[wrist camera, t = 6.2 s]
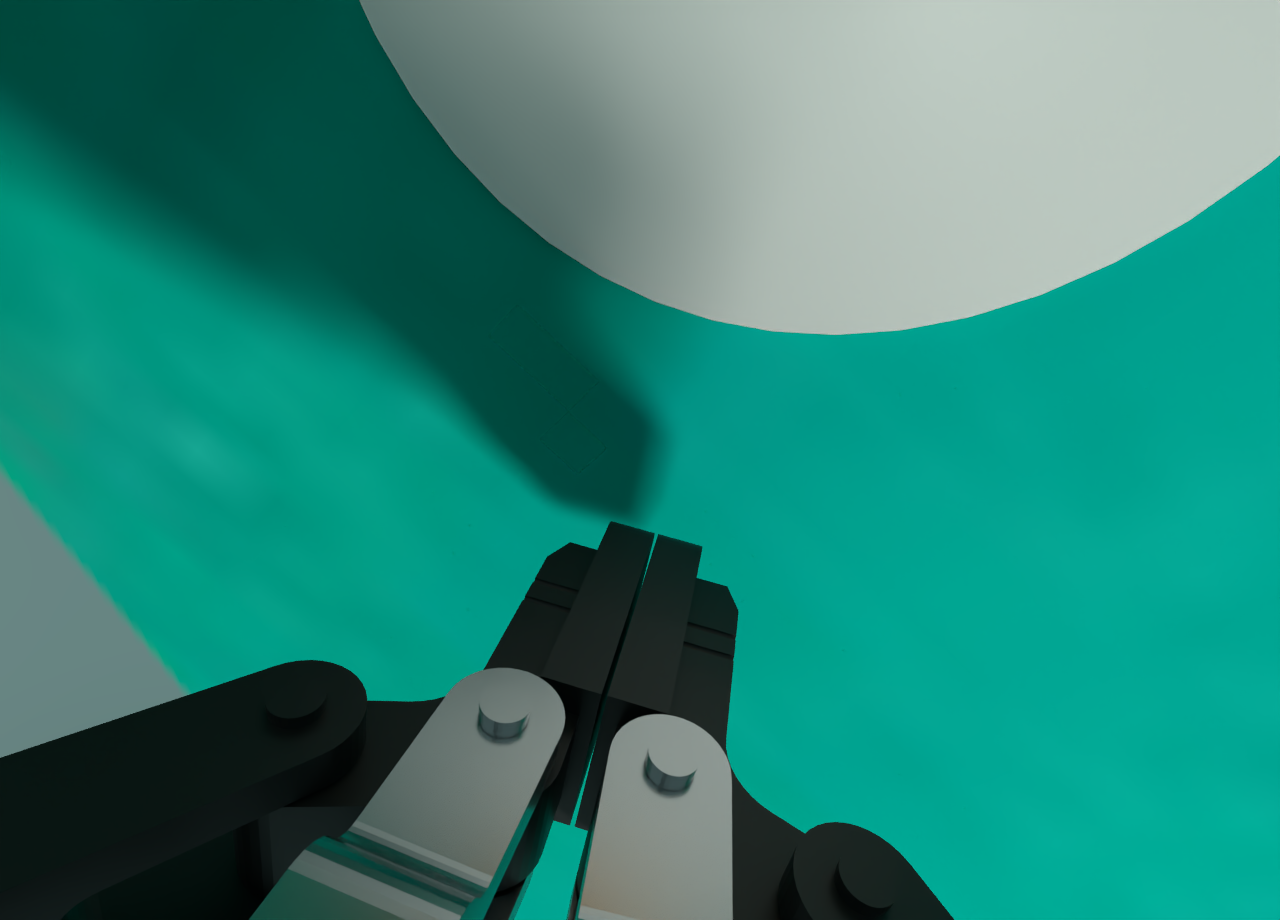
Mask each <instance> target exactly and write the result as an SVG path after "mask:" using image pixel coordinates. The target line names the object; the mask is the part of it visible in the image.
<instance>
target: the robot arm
mask: <svg viewBox="0 0 1280 920" xmlns="http://www.w3.org/2000/svg"><path fill="white" fill-rule="evenodd" d="M654 534H655V533H652V532H648V531H644V530H641V529H637V528H634V527H630V526H627V525H623V524H619V523H616V522H612V521H611V522H610V523H609V525H608V528H607V530H606V532H605V534H604V537H603V539H602V541H601V543H600V545H599V548H598V550H595V549H592V548H588V547H585V546H581V545H578V544H574V543H571V542H570V543H568V544H567V545H565V546H563V547H562V548H560V549H559V550H557V551H556V552H554V553H552V554H551V555H549V556H548V557H547V558H546V560H545V562H544V563H543V565H542V567H541V569H540V570H539V572H538V574H537V576H536V578H535V581H534V582H533V583H532V585H531V586H530V588H529V590H528V592H527V594H526V595H525V599H524V600H523V601H522V602H521V604H520V606H519V608H518V610H517V611H516V613H515V615H514V617H513V618H512V620H511V622H510V624H509V626H508V627H507V629H506V631H505V633H504V635H503V636H502V638H501V640H500V642H499V643H498V645H497V647H496V649H495V651H494V652H493V654H492V656H491V658H490V659H489V661H488V663H487V665H486V667H485V668H484V670H482V671H479V672H476V673H474V674H471V675H469V676H467V677H466V678H464V679H462V680H461V681H460V682H458V683H457V684H456V685H455V686H454V687H453V688H452V689H451V690H450V691H449V692H448V694H447V695H446V696H445V697H442V698H438V699H434V700H427V701H415V702H402V701H367V696H366V690H365V688H364V686H363V684H362V682H361V681H360V680H359V678H358V677H357V676H356V675H355V674H353V673H352V672H351V671H349V670H348V669H346V668H344V667H342V666H340V665H337V664H334V663H330V662H325V661H316V660H304V661H294V662H288V663H284V664H281V665H277V666H274V667H271V668H268V669H265V670H262V671H259V672H256V673H253V674H250V675H247V676H244V677H241V678H238V679H235V680H232V681H229V682H226V683H223V684H220V685H217V686H214V687H211V688H208V689H205V690H202V691H199V692H196V693H193V694H190V695H187V696H184V697H181V698H178V699H175V700H172V701H169V702H166V703H163V704H160V705H157V706H154V707H151V708H148V709H145V710H142V711H139V712H136V713H133V714H130V715H127V716H124V717H122V718H119V719H115V720H112V721H110V722H106V723H103V724H100V725H98V726H94V727H92V728H88V729H85V730H83V731H79V732H77V733H74V734H70V735H67V736H64V737H61V738H59V739H56V740H52V741H49V742H46V743H44V744H40V745H38V746H34V747H31V748H29V749H26V750H23V751H20V752H17V753H14V754H11V755H8V756H5V757H2V758H0V920H514V918H515V916H516V914H517V911H518V909H519V907H520V904H521V902H522V900H523V897H524V895H525V892H526V890H527V888H528V885H529V883H530V880H531V877H532V874H533V869H534V868H535V867H536V865H537V864H538V862H539V859H540V857H541V855H542V852H543V849H544V846H545V843H546V840H547V837H548V834H549V831H550V829H551V826H552V823H553V820H554V821H557V822H561V823H564V824H567V825H570V823H571V820H572V816H573V813H574V810H575V807H576V804H577V800H578V797H579V794H580V791H581V787H582V784H583V781H584V778H585V775H586V771H587V768H588V765H589V762H590V759H591V755H592V752H593V755H592V759H591V763H590V768H589V772H588V776H587V780H586V784H585V788H584V792H583V796H582V800H581V804H580V808H579V812H578V816H577V820H576V824H575V827H578V828H581V829H584V830H587V831H588V833H587V837H586V841H585V845H584V849H583V852H582V856H581V860H580V864H579V868H578V872H577V876H576V879H575V883H574V887H573V891H572V895H571V899H570V904H569V909H568V914H567V919H566V920H954V919H953V917H952V916H951V915H950V914H949V912H948V911H947V910H946V909H945V907H944V906H943V905H942V904H941V902H940V901H939V900H938V899H937V897H936V896H935V895H934V894H933V892H932V891H931V890H930V889H929V887H928V886H927V885H926V884H925V882H924V881H923V880H922V879H921V877H920V876H919V875H918V874H917V872H916V871H915V870H914V869H913V867H912V866H911V865H910V864H909V862H908V861H907V860H906V859H905V858H904V857H903V856H902V855H901V854H900V853H899V852H898V851H897V850H896V849H895V848H894V847H893V846H892V845H890V844H889V843H888V842H886V841H885V840H884V839H882V838H881V837H879V836H877V835H876V834H874V833H872V832H870V831H868V830H866V829H864V828H861V827H859V826H855V825H851V824H848V823H839V822H832V823H824V824H821V825H817V826H815V827H814V828H812V829H810V830H809V831H808V832H807V833H803V832H801V831H800V830H798V829H797V828H795V827H793V826H792V825H790V824H789V823H787V822H786V821H784V820H782V819H781V818H779V817H778V816H776V815H775V814H773V813H771V812H770V811H769V810H767V809H766V808H764V807H763V806H762V805H760V804H759V803H758V802H757V801H756V800H755V799H754V798H753V797H751V796H750V794H749V793H748V792H747V791H746V790H745V789H744V788H743V786H742V785H741V783H740V782H739V781H738V779H737V778H736V776H735V774H734V772H733V770H732V768H731V766H730V763H729V760H728V757H727V751H726V734H727V724H728V713H729V703H730V693H731V682H732V672H733V662H734V661H733V658H734V652H735V641H736V640H735V637H736V631H737V621H738V609H737V607H736V605H735V603H734V600H733V598H732V596H731V594H730V592H729V589H728V587H727V586H723V585H720V584H716V583H713V582H709V581H706V580H702V579H699V578H696V577H697V572H698V567H699V562H700V557H701V552H702V546H699V545H695V544H692V543H688V542H685V541H681V540H677V539H674V538H670V537H667V536H663V535H659V534H658V537H657V540H656V543H655V546H654V550H653V553H652V556H651V559H650V562H649V565H648V569H647V572H646V575H645V571H646V567H647V563H648V559H649V555H650V551H651V547H652V543H653V539H654ZM644 575H645V578H644ZM643 579H644V581H643ZM642 583H643V584H642ZM641 587H642V588H641ZM595 742H596V743H595ZM594 746H595V747H594ZM593 749H594V751H593Z"/></svg>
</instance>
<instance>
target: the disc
mask: <svg viewBox="0 0 1280 920" xmlns="http://www.w3.org/2000/svg"><path fill="white" fill-rule="evenodd" d="M359 1H360V3H361V5H362V8H363V10H364V12H365V14H366V16H367V18H368V20H369V23H370V25H371V27H372V29H373V31H374V33H375V35H376V37H377V39H378V40H379V42H380V44H381V45H382V47H383V49H384V51H385V52H386V54H387V56H388V57H389V59H390V61H391V62H392V64H393V66H394V67H395V69H396V71H397V72H398V74H399V76H400V78H401V79H402V81H403V83H404V84H405V86H406V88H407V89H408V91H409V93H410V94H411V96H412V98H413V99H414V101H415V102H416V103H417V105H418V106H419V107H420V109H421V110H422V111H423V113H424V114H425V115H426V117H427V118H428V119H429V121H430V122H431V123H432V125H433V126H434V127H435V129H436V130H437V131H438V133H439V134H440V135H441V137H442V138H443V139H444V141H445V142H446V143H447V145H448V146H449V147H450V149H451V150H452V151H453V153H454V154H455V155H456V156H457V157H458V158H459V159H460V160H461V161H462V162H463V163H464V165H465V166H466V167H467V168H468V169H469V170H470V171H471V172H472V173H473V174H474V175H475V176H476V177H477V178H478V179H479V180H480V181H481V183H482V184H483V185H484V186H485V187H486V188H487V189H488V190H489V191H490V192H491V193H492V194H493V195H494V196H495V197H496V198H497V199H498V201H499V202H500V203H502V204H503V205H504V206H505V207H506V208H508V209H509V210H510V211H511V212H512V213H514V214H515V215H516V216H517V217H518V218H520V219H521V220H522V221H523V222H524V223H526V224H527V225H528V226H529V227H530V228H532V229H533V230H534V231H535V232H536V233H538V234H539V235H540V236H541V237H542V238H544V239H545V240H546V241H547V242H548V243H550V244H552V245H553V246H555V247H556V248H558V249H559V250H561V251H562V252H564V253H566V254H567V255H569V256H570V257H572V258H573V259H575V260H576V261H578V262H580V263H581V264H583V265H584V266H586V267H587V268H589V269H591V270H592V271H594V272H595V273H597V274H598V275H600V276H602V277H604V278H606V279H608V280H610V281H612V282H615V283H617V284H619V285H621V286H623V287H625V288H627V289H629V290H631V291H634V292H636V293H638V294H640V295H642V296H644V297H646V298H648V299H650V300H653V301H655V302H658V303H661V304H664V305H667V306H670V307H673V308H676V309H679V310H682V311H685V312H689V313H692V314H695V315H698V316H701V317H704V318H707V319H710V320H714V321H719V322H725V323H730V324H736V325H741V326H746V327H752V328H757V329H763V330H768V331H776V332H794V333H812V334H831V335H840V334H854V333H868V332H883V331H897V330H905V329H910V328H915V327H921V326H926V325H931V324H936V323H941V322H947V321H952V320H957V319H962V318H968V317H972V316H975V315H978V314H981V313H984V312H988V311H991V310H994V309H997V308H1000V307H1004V306H1007V305H1010V304H1013V303H1016V302H1020V301H1023V300H1026V299H1029V298H1032V297H1036V296H1039V295H1041V294H1044V293H1046V292H1048V291H1051V290H1053V289H1055V288H1058V287H1060V286H1062V285H1064V284H1067V283H1069V282H1071V281H1074V280H1076V279H1078V278H1080V277H1083V276H1085V275H1087V274H1090V273H1092V272H1094V271H1096V270H1099V269H1101V268H1103V267H1106V266H1108V265H1110V264H1113V263H1115V262H1116V261H1118V260H1120V259H1122V258H1123V257H1125V256H1127V255H1129V254H1131V253H1132V252H1134V251H1136V250H1138V249H1139V248H1141V247H1143V246H1145V245H1146V244H1148V243H1150V242H1152V241H1154V240H1155V239H1157V238H1159V237H1161V236H1162V235H1164V234H1166V233H1168V232H1170V231H1171V230H1173V229H1175V228H1177V227H1178V226H1180V225H1182V224H1184V223H1185V222H1187V221H1189V220H1190V219H1192V218H1193V217H1195V216H1196V215H1198V214H1199V213H1200V212H1202V211H1203V210H1205V209H1206V208H1208V207H1209V206H1210V205H1212V204H1213V203H1215V202H1216V201H1218V200H1219V199H1220V198H1222V197H1223V196H1225V195H1226V194H1228V193H1229V192H1230V191H1232V190H1233V189H1235V188H1236V187H1238V186H1239V185H1240V184H1242V183H1243V182H1245V181H1246V180H1248V179H1249V178H1250V177H1252V176H1253V175H1255V174H1256V173H1258V172H1259V171H1260V170H1262V169H1263V168H1265V167H1266V166H1267V165H1269V164H1270V163H1271V162H1272V161H1273V160H1274V159H1276V158H1277V157H1278V156H1279V155H1280V0H359Z"/></svg>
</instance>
